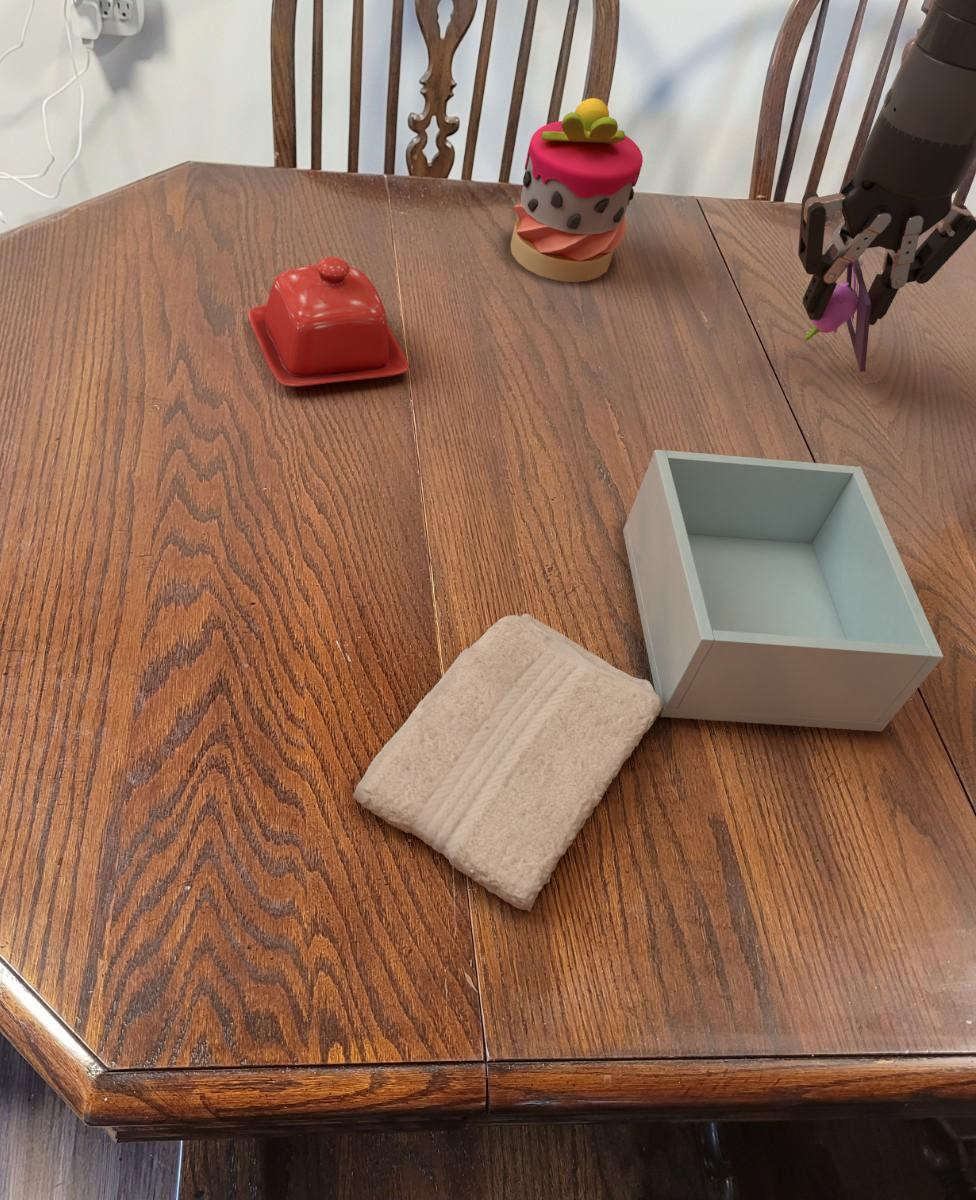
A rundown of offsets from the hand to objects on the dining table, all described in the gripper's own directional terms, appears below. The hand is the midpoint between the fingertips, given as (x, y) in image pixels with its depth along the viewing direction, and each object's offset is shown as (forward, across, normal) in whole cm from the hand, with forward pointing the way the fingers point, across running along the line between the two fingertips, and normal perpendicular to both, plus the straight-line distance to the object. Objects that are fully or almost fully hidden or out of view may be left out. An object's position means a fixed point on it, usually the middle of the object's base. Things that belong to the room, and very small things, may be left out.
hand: (839, 316), depth 89 cm
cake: (+5, -22, +15) cm, 27 cm away
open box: (+5, -13, -31) cm, 34 cm away
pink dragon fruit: (+2, 0, 0) cm, 2 cm away
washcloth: (+5, -30, -43) cm, 53 cm away
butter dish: (+5, -44, -4) cm, 44 cm away
